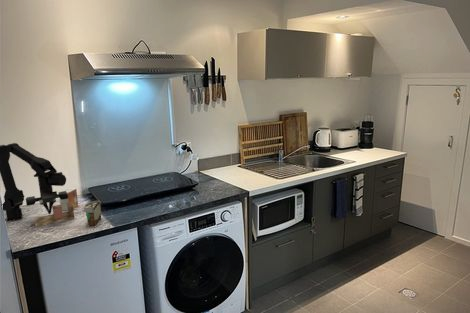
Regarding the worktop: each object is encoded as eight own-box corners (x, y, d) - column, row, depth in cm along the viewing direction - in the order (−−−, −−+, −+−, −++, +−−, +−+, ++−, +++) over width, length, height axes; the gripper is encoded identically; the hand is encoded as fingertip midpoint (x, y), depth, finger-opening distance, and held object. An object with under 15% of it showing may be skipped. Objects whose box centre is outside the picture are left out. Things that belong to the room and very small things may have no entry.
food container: (90, 218, 180) (88, 200, 178) (102, 218, 181) (100, 200, 178) (82, 228, 168) (79, 209, 166) (94, 227, 169) (92, 208, 166)
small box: (69, 210, 191) (67, 193, 189) (60, 210, 192) (58, 192, 190) (78, 205, 199) (76, 188, 197) (70, 205, 200) (68, 188, 198)
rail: (35, 227, 171) (33, 213, 169) (34, 221, 177) (32, 208, 176) (74, 218, 180) (72, 206, 178) (72, 214, 187) (70, 202, 185)
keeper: (54, 219, 176) (53, 209, 174) (53, 215, 181) (52, 205, 180) (63, 218, 178) (61, 207, 177) (62, 214, 183) (60, 204, 182)
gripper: (24, 192, 162) (29, 223, 165) (67, 185, 171) (71, 214, 175) (24, 186, 171) (28, 215, 175) (65, 180, 181) (68, 208, 184)
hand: (49, 213), depth 177 cm, fingers closed
